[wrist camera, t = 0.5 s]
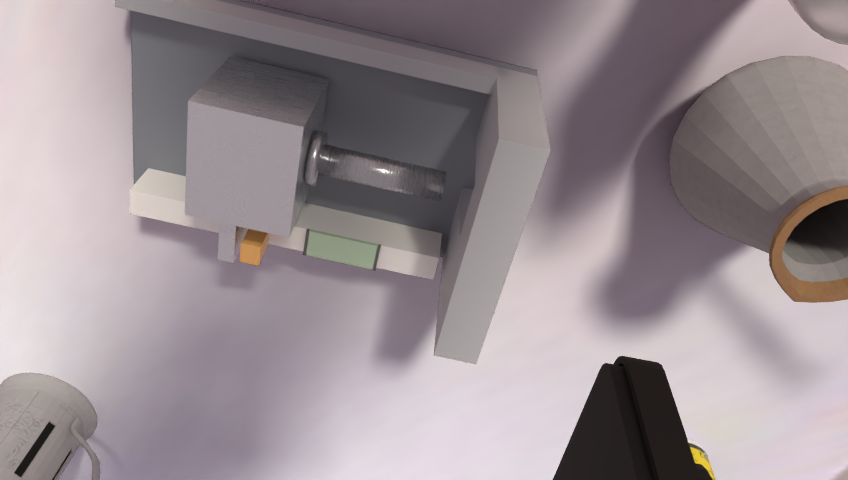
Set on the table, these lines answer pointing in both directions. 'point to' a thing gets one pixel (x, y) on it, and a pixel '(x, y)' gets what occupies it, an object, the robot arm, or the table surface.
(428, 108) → the track
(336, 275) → the table surface
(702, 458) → the supplement bottle
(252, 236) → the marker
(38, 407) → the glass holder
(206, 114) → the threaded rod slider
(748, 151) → the coffee pot
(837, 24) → the plastic bottle
